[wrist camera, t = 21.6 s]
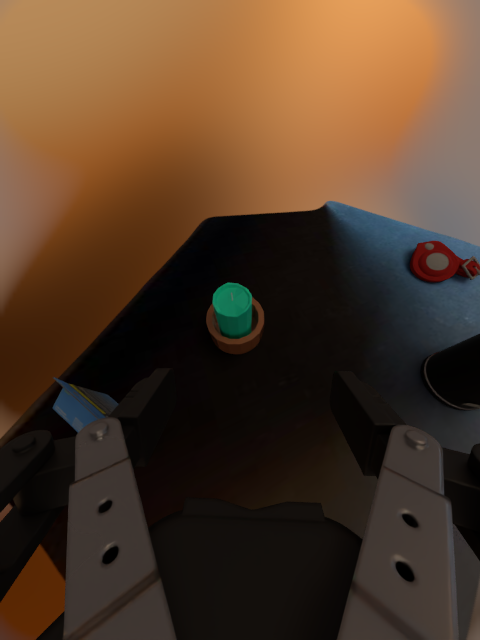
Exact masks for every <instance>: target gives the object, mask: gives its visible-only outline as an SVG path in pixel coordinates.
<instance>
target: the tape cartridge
mask: <svg viewBox="0 0 480 640" xmlns="http://www.w3.org/2000/svg"><path fill="white" fill-rule="evenodd" d="M53 379H55V380H56V381H57V382H58V383H59V384H60V385H61V386H62V387H63V389H62V391H61V393H60V395H59V397H58V398H57V400H56V402H55V404H54V406H53V409H54V410H55V411H56V412H57V413H58V414H59V415H60V416H61V417H62V418H63V419H64V420H66V421H67V422H68V423H69V424H70V425H71V426H72V427H73V428H74V429H75V430H76V431H77V432H78V433H79V431H80V430H81V429H82V428H84V427H85V426H86V425H88V424H89V423H91V422H93V421H96V420H98V419H101V418H107V417H108V416H109V415H110V414H111V413H112V411H113V410H114V409H115V408H116V407H117V406H118V403H117V402H116V401H114V400H113V399H112V398H111V397H110V396H108V395H107V394H103V393H99V392H96V391H92V390H89V389H85V388H82V387H79V386H75V385H71V384H68V383H66V382H63V381H61V380H59V379H57V378H54V377H53Z"/></svg>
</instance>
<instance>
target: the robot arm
mask: <svg viewBox="0 0 480 640" xmlns="http://www.w3.org/2000/svg"><path fill="white" fill-rule="evenodd" d="M421 375H422V379H423V382H424V384H425V386H426V387H427V389H428V390H429V392H430V393H431V394H432V395H433V396H434V397H435V398H436V399H437V400H439V401H440V402H441V403H443V404H445V405H447V406H449V407H451V408H454V409H457V410H474V409H479V408H480V334H478V335H476V336H473V337H471V338H469V339H467V340H465V341H462V342H460V343H458V344H456V345H454V346H451V347H449V348H447V349H445V350H442V351H440V352H437V353H434V354H432V355H430V356H428V357H427V358H426V359H425V360H424V362H423V364H422V367H421ZM175 404H176V387H175V378H174V371H173V369H172V368H157V369H156V370H155V371H154V372H153V373H152V375H151V376H150V377H149V378H144V379H143V380H141V381H140V382H138V383H137V384H136V385H135V386H134V387H133V388H132V389H131V390H130V392H129V393H128V394H127V395H126V396H125V398H124V399H123V400H122V401H121V402H120V403H119V404H118V406H117V407H116V408H115V409H114V410H113V411H112V413H111V414H110V415H109V416H108V417H107V418H101V419H98V420H96V421H93V422H91V423H89V424H88V425H86V426H85V427H84V428H82V429H81V430H80V431H79V433H78V434H77V436H74V437H69V438H65V439H60V440H55V441H53V438H52V435H51V433H50V432H49V431H47V430H37V431H32V432H29V433H26V434H23V435H21V436H19V437H17V438H15V439H13V440H12V441H10V442H9V443H7V444H6V445H4V446H3V447H2V448H1V449H0V512H1V511H2V510H3V509H4V508H5V507H6V506H7V505H8V503H9V502H10V501H11V500H12V499H13V500H14V502H15V506H14V507H13V508H12V509H11V511H10V512H9V513H8V514H7V515H6V516H5V517H4V519H3V520H2V521H1V522H0V602H1V601H2V599H3V598H4V596H5V595H6V593H7V592H8V590H9V589H10V587H11V586H12V584H13V583H14V581H15V579H16V578H17V577H18V575H19V574H20V572H21V571H22V569H23V568H24V566H25V565H26V563H27V562H28V560H29V559H30V557H31V556H32V554H33V553H34V551H35V550H36V548H37V547H38V545H39V544H40V543H41V541H42V540H43V538H44V537H45V535H46V534H47V532H48V531H49V529H50V528H51V526H52V525H53V523H54V522H55V520H56V519H57V517H58V516H59V514H60V513H61V511H62V510H63V508H64V507H65V505H69V506H68V534H67V561H66V589H65V611H64V612H63V613H62V614H61V615H60V616H59V617H58V618H57V619H56V620H55V621H54V622H53V623H52V624H51V625H50V626H49V627H48V628H47V629H46V630H45V631H44V632H43V633H42V634H41V635H40V636H39V637H38V638H37V639H36V640H459V632H458V614H457V596H456V578H455V559H454V541H453V524H455V526H456V527H457V529H458V530H459V531H460V533H461V534H462V536H463V537H464V539H465V540H466V542H467V543H468V545H469V546H470V547H471V549H472V550H473V552H474V553H475V555H476V556H477V558H478V559H479V560H480V444H476V445H474V446H473V448H472V450H471V453H470V454H466V453H462V452H458V451H454V450H450V449H446V448H442V447H441V445H440V444H439V442H438V441H437V440H436V439H435V438H433V437H432V436H431V435H429V434H428V433H426V432H424V431H422V430H420V429H418V428H415V427H412V426H408V425H406V424H405V422H404V421H403V420H402V419H401V418H400V417H399V416H398V415H397V413H396V412H395V411H394V410H393V409H392V408H391V407H390V406H389V404H387V402H386V401H385V400H384V399H383V398H381V395H380V394H379V393H378V392H377V391H376V390H375V389H374V388H373V387H371V386H370V385H368V384H366V383H365V382H360V381H359V379H358V378H357V377H356V376H355V375H354V373H353V372H351V371H335V372H334V374H333V380H332V388H331V395H330V406H331V410H332V413H333V415H334V417H335V419H336V421H337V423H338V425H339V427H340V429H341V430H342V432H343V434H344V436H345V438H346V440H347V442H348V444H349V446H350V448H351V450H352V452H353V454H354V456H355V458H356V460H357V462H358V464H359V466H360V468H361V470H362V472H363V474H364V476H376V477H377V478H378V482H377V486H376V490H375V494H374V498H373V502H372V506H371V510H370V514H369V517H368V521H367V525H366V529H365V533H364V537H363V540H362V539H361V538H360V537H359V536H358V535H356V534H355V533H354V532H352V531H351V530H349V529H348V528H347V527H345V526H343V525H342V524H340V523H338V522H336V521H334V520H332V519H330V518H327V517H324V513H323V510H322V506H321V503H306V502H284V503H280V504H276V505H272V506H268V507H264V508H260V509H256V510H250V509H247V508H244V507H241V506H238V505H235V504H232V503H229V502H226V501H223V500H220V499H212V498H188V497H186V499H185V503H184V507H183V510H182V511H178V512H175V513H173V514H170V515H168V516H166V517H164V518H162V519H161V520H159V521H158V522H156V523H155V524H153V525H152V526H151V527H149V528H148V527H147V523H146V519H145V515H144V511H143V507H142V503H141V499H140V496H139V492H138V488H137V484H136V480H135V476H134V472H133V469H134V467H135V466H141V467H146V465H147V463H148V461H149V459H150V457H151V455H152V453H153V451H154V449H155V447H156V445H157V443H158V440H159V438H160V436H161V434H162V432H163V430H164V428H165V426H166V424H167V422H168V420H169V418H170V416H171V414H172V412H173V410H174V407H175Z"/></svg>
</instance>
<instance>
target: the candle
mask: <svg viewBox="0 0 480 640" xmlns="http://www.w3.org/2000/svg"><path fill="white" fill-rule="evenodd" d="M213 307H214V311H215V314H216V318H217V322H218V325H219V329H220V333H221V335H222V336H224V337H227V338H229V339H240V338H243V337H245V336H248V335H249V334H250V333H251V324H252V295H251V293H250V292H249V291H248V289H247V288H245V287H243V286H242V285H240V284H238V283H226V284H224V285H223V286H221V287H219V288H218V289H217V291H216V292H215V293H214V294H213Z"/></svg>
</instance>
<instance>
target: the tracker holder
mask: <svg viewBox="0 0 480 640" xmlns="http://www.w3.org/2000/svg"><path fill="white" fill-rule="evenodd" d="M472 260H473V261H472ZM410 269H411V271H412V273H413V274H414V275H415V276H416V277H417V278H419V279H421V280H423V281H426V282H440V281H444V280H446V279H448V278H450V277H452V276H453V275H454V274H457V275H460V276H462V277H466V278H470V280H473V279H474V278H475V277H476V276H478V275H480V264H479V262H478V261H477V259H476V258H475V257H474V256H473V257H471V258H470V259H465V260H463V259H461V258H459V257H458V256H456V255H455V254H454V253H453V252H452V251H451V250H450V249H449V248H448V247H447V246H445V245H444V244H443V243H441V242H439V241H430V242H424V243H418V244H417V247H416V249H415V251H414V253H413V255H412V258H411V262H410Z"/></svg>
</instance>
